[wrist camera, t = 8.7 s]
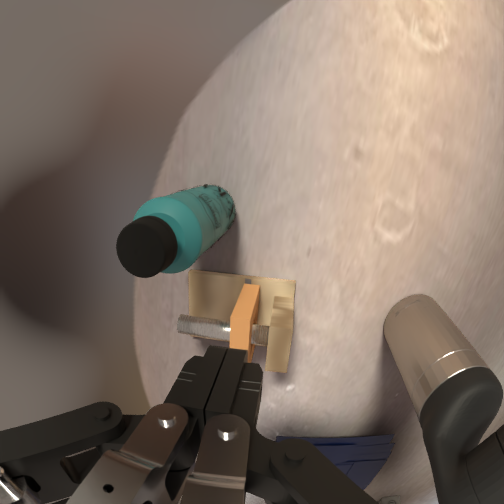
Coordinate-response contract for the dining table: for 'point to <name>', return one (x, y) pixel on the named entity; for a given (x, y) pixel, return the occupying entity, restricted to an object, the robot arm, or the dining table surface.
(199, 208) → the beverage bottle
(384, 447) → the dark blue flat slab
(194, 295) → the pipe stand
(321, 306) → the dining table surface
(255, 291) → the collar
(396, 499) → the dice cube
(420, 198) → the dining table surface
